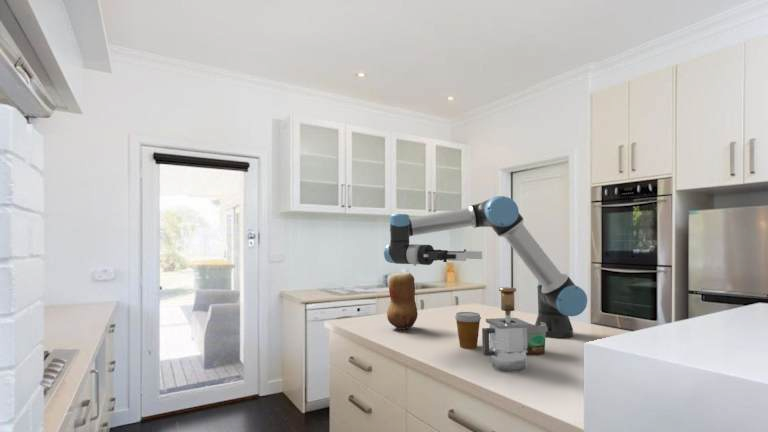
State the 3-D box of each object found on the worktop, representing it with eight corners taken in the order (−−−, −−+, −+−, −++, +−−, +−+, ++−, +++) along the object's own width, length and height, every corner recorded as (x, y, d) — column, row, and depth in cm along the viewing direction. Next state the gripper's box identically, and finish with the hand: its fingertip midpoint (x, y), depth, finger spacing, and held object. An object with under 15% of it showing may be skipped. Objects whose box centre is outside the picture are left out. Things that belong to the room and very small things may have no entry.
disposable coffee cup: (481, 350, 149) (481, 316, 150) (454, 349, 151) (454, 315, 152) (481, 343, 159) (480, 312, 159) (455, 342, 160) (455, 311, 161)
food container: (530, 358, 140) (530, 328, 140) (516, 353, 145) (516, 324, 145) (556, 353, 145) (555, 324, 146) (542, 349, 151) (541, 321, 151)
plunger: (514, 340, 135) (513, 286, 136) (525, 347, 128) (524, 289, 129) (492, 341, 134) (491, 287, 135) (502, 348, 127) (501, 290, 128)
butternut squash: (382, 327, 187) (381, 271, 189) (407, 324, 194) (406, 270, 195) (398, 333, 175) (397, 274, 176) (424, 330, 182) (424, 272, 183)
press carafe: (516, 360, 137) (515, 317, 137) (532, 371, 126) (531, 324, 127) (477, 363, 135) (477, 319, 135) (490, 373, 124) (490, 325, 125)
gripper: (437, 262, 167) (487, 264, 155) (403, 266, 147) (458, 269, 135) (437, 244, 168) (487, 244, 155) (403, 245, 148) (457, 245, 135)
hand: (474, 256), depth 145 cm, fingers open, 13 cm apart
